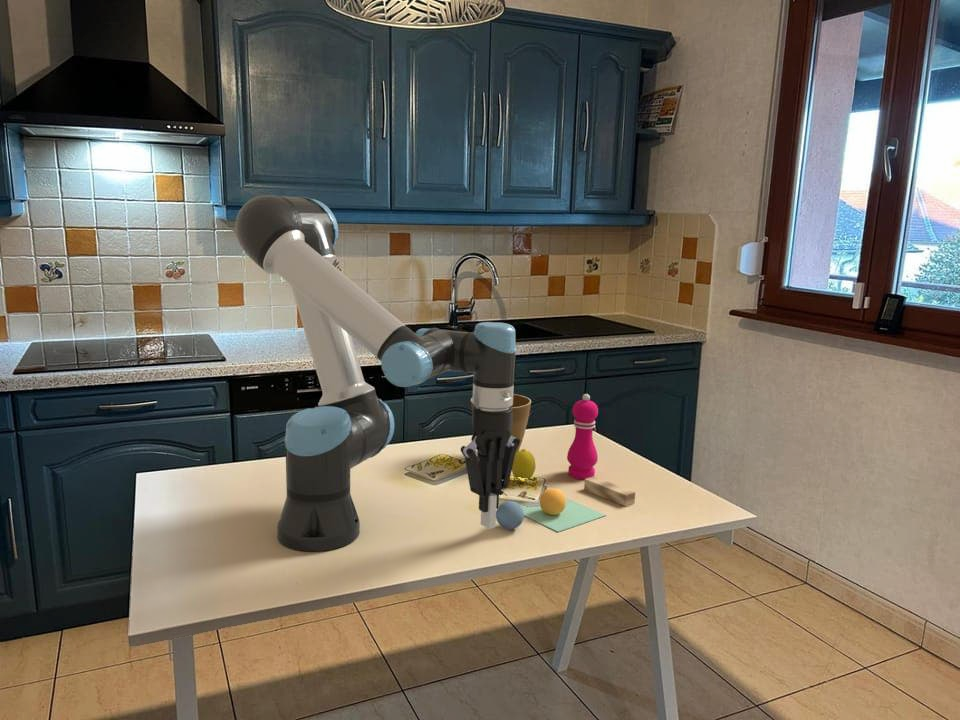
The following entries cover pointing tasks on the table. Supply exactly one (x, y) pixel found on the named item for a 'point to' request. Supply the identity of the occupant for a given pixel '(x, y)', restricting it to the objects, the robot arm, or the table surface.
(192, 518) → the table surface
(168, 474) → the table surface
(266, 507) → the table surface
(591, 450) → the pepper mill
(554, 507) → the orange ball
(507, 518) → the blue ball
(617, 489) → the bar
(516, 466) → the lemon
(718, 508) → the table surface
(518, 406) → the plant pot
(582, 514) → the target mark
